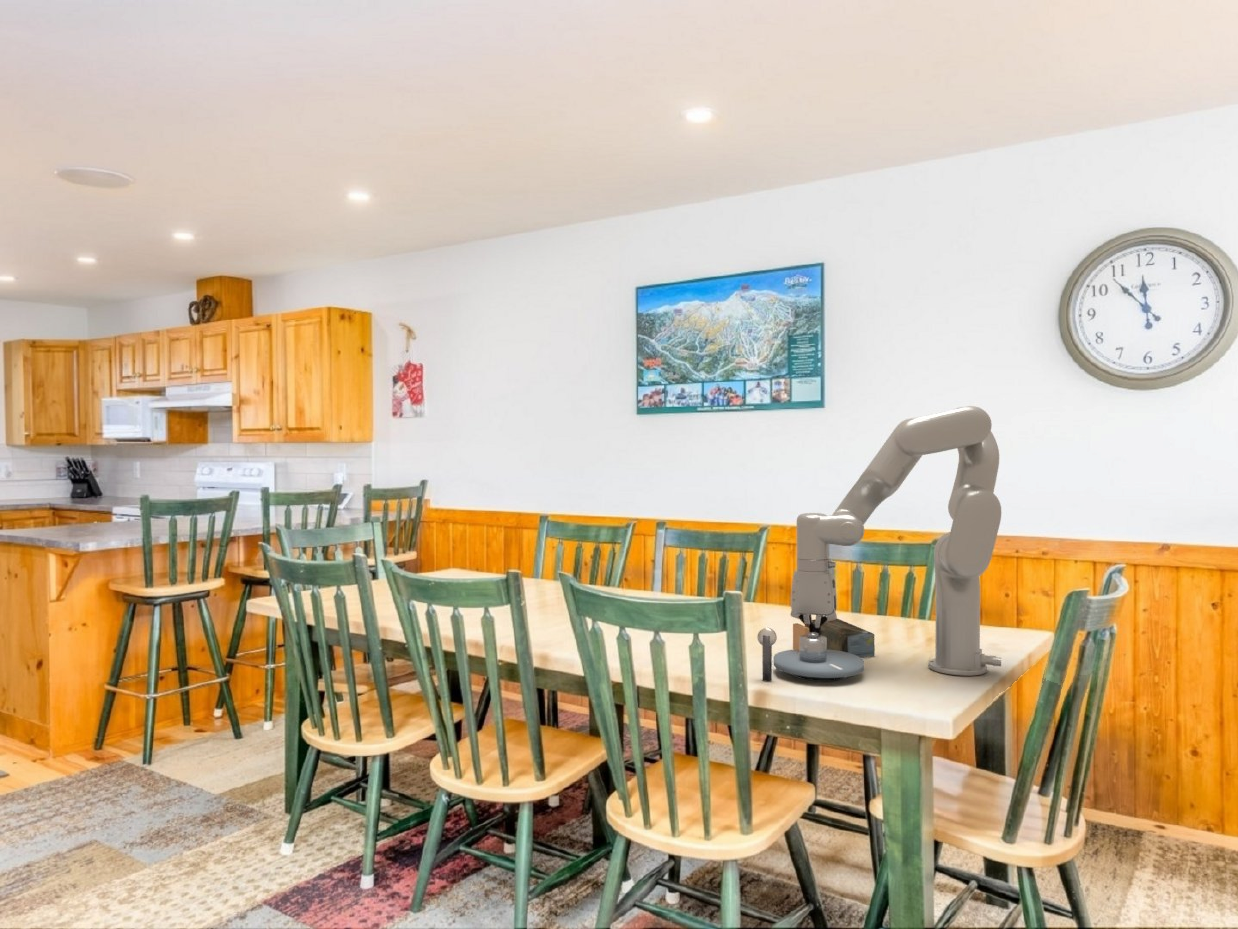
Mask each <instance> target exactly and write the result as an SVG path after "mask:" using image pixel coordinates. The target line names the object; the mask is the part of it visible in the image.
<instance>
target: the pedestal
mask: <svg viewBox="0 0 1238 929" xmlns="http://www.w3.org/2000/svg"><path fill="white" fill-rule="evenodd" d="M792 676H794V677H797V678H799V679H802V680H803V679H804V680H808V681H816V682H818V681H819V682H830V681H831V682H832V681H833V682H834V681H839V680H842V679H844V678H845V677H838V678H817V677H806V676H799V675H794V674H792Z"/></svg>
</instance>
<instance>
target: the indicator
mask: <svg viewBox="0 0 1238 929" xmlns="http://www.w3.org/2000/svg"><path fill="white" fill-rule="evenodd" d="M777 636H778V635H777V633H776V631H775V630H774V629H773V628H771V627H763V628H762V629H760V630H759V631H758V633H757V641H758V643H759V644H760V645H761V648H762V649H761V650H762V661H761V662H762V664H761V666H762V681H763V682H772V680H773V679H772V678H773V673H772V671H773V669H772V668H773V667H772V666H773V664H772V663H773V660H772V659H773V658H772V657H773V655H772V654H773V651H772V649H773V648H772V647H773V645H774V644H776V642H777V639H778V638H777Z"/></svg>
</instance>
